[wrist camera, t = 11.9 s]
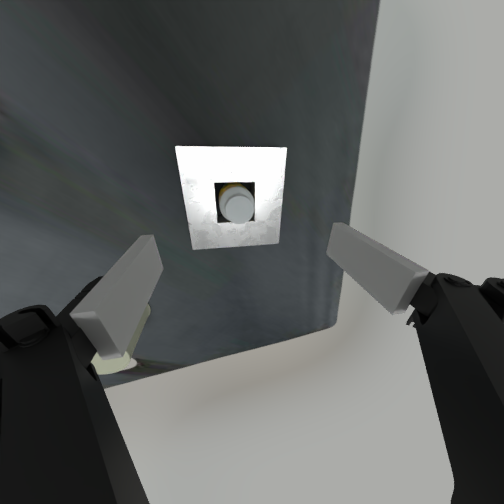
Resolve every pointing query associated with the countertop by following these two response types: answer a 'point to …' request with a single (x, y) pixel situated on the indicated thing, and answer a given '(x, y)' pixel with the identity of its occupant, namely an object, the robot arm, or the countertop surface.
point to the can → (122, 362)
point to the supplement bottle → (236, 203)
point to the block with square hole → (232, 170)
